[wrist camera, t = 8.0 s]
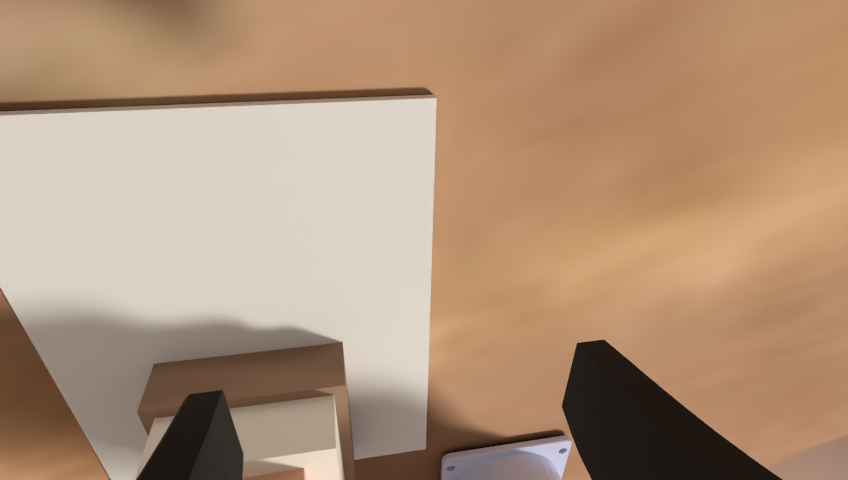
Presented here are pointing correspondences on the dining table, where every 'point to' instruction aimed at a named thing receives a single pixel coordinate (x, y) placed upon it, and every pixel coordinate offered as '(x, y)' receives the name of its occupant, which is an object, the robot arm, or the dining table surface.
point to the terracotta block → (280, 475)
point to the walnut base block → (256, 384)
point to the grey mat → (223, 250)
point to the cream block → (279, 438)
